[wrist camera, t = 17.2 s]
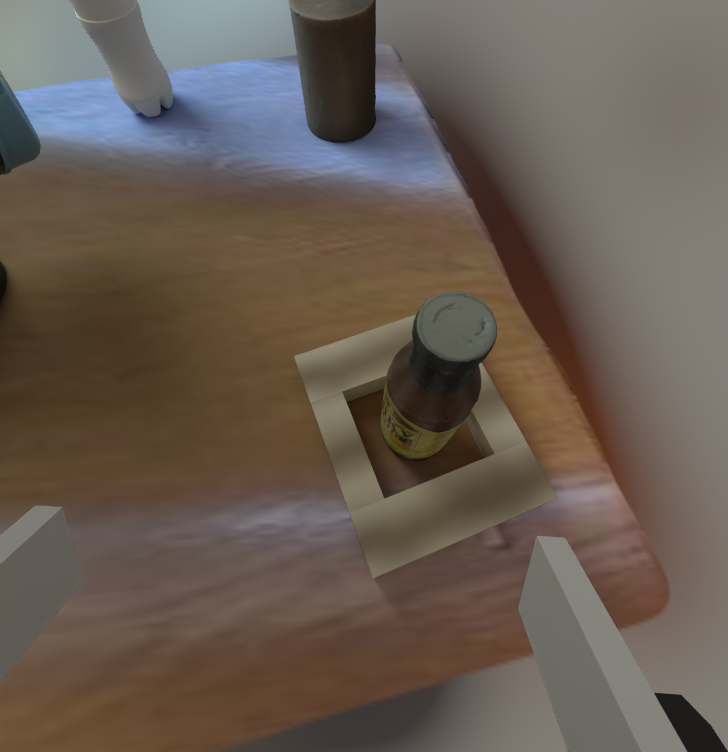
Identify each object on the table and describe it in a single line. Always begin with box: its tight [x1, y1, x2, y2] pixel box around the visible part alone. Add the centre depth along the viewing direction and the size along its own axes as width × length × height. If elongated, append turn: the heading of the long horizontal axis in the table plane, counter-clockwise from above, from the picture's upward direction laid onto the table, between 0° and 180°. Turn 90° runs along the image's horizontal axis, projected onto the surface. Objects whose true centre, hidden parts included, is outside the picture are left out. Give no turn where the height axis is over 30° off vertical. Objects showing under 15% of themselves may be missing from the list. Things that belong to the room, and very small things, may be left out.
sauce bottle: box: [381, 292, 497, 461], centre depth 29 cm, size 6×6×20 cm
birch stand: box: [294, 315, 558, 578], centre depth 37 cm, size 20×16×3 cm
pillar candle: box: [289, 0, 376, 142], centre depth 50 cm, size 10×10×15 cm
